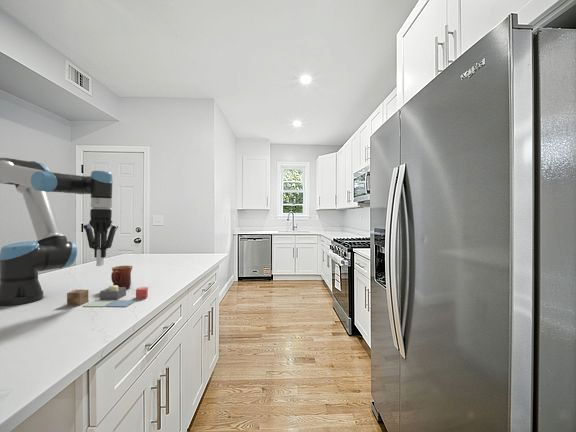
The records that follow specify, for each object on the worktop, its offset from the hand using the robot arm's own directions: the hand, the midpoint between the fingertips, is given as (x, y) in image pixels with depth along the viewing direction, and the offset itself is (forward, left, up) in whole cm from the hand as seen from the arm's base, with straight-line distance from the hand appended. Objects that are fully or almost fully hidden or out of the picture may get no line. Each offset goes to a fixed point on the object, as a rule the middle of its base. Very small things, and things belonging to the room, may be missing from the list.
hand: (99, 265), depth 126 cm
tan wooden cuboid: (-5, -6, -14) cm, 16 cm away
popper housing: (+4, +3, -14) cm, 15 cm away
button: (+4, +3, -14) cm, 14 cm away
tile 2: (+12, -6, -14) cm, 19 cm away
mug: (0, +16, -14) cm, 22 cm away
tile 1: (+4, -6, -14) cm, 16 cm away
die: (+16, +3, -14) cm, 22 cm away
